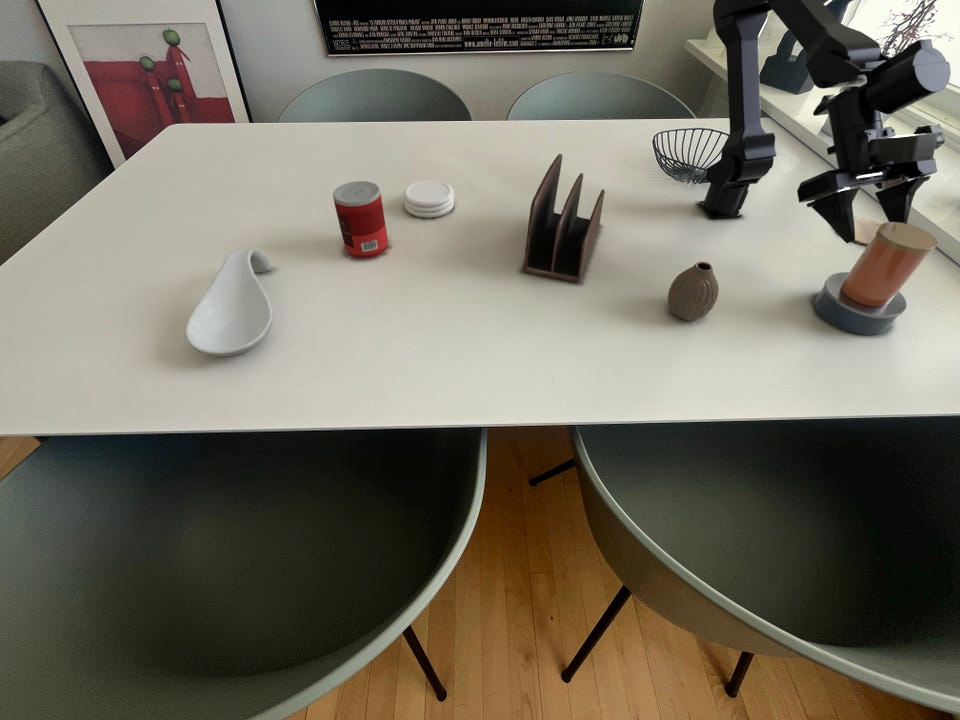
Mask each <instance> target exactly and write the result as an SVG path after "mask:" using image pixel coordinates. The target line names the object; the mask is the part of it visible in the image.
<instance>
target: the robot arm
mask: <svg viewBox="0 0 960 720" xmlns="http://www.w3.org/2000/svg"><path fill="white" fill-rule="evenodd" d="M771 11H773V13H774V14H775V15H776V16H777V17H778V18H779V20H780V21H781V22H782V24H783V25H784V26H785V27H786V28H787V31H789V32H790V34H791V35H792V36H793V37H794V38H795V40H796V41H797V43H798V44H799V45H800V46H801V47H802V49H803V50H804V53H805V63H804V65H805V69H806V71H807V73H808V75H809V77H810V79H811V82H812V84H813V85H814V86H815V87H816V88H818V89H834V88H842V87H846V88H844V89H843V90H842V91H840V92H838V93H836V94H835V93H833V94H825V95H823V96H822V97H821V100H820V102H819V103H818V104H817V106H816V107H815V109H814V110H813V113H812V115H813V116H814V117H817V116H825V115H828V121H829V127H830V131H831V132H830V133H831V137H832V143H833V145H831V146H829V147H827V148H826V152H827V156H831V155H835V160H836V165H837V168H835V169H830V170H829V169H828V170H827V171H824V172H822V173H820V174H817V175H815V176H813V177H810V178H808V179H806V180H802V181H801V182H800V184H799V186H798V187H797V190H796V193H797V197H798V198H797V199H798V203H799V204H801V203H806V207H807V208H812V209H813V210H814V211H815V212H816V213H817V214H818V215H819V216H820V217H821V218H822V219H823V220H824V221H825V222H826V223H827V224H828V225H829V226H830V227H831V228H832V229H833V230H834V232H835V233H836V234H837V235H838V236H839V237H840V238H841V239H842V241H844V243H846V244H849V243H855V242H854V241H855V226H854V218H855V217H854V209H853V207H854V206H853V202H854V200H855V198H856V196H857V194H858V192H859V191H860V187H862V186H870V185H874V186H875V187H876V188H877V189H878V190H879V191H875V192H874V195H875V197H876V199H877V201H878V203H879V205H880V206H881V209H882V210H883V213H884V214H885V217H886V219H887V221H888V222H899V223H905V224H908V220H909V216H910V212H911V209H912V204H913V200H914V197H915V195H916V192H917V191H918V190H919V189H920V187H921V186H923V184H924V183H925V182H927V181H929V180H931V175H933V174H937V172H938V168H937V162H936V161H937V160H936V158H934V155H935V150H938V149H939V148H940V147H941V146H942V145H943V144H944V143H946V139H945V137H944V133H943V130H942V127H941V124H940V123H933V124H926V125H919V126H917V128H916V129H915V130H914V132H913V133H909V134H903V135H896V130H895V128H893V126H887V127H884V123H883V117H882V114H884V115H893V114H895V113H898V112H901V111H902V110H904V109H906V108H908V107H910V106H912V105H914V104H917V103H918V102H921V101H922V100H925V99H927V98H929V97H930V96H932V95H935V94H936V93H939V92H941V91H943V90H944V89H945V88H946V87H947V85H948V84H949V82H950V80H951V75H952V74H951V73H952V72H951V71H952V70H951V64H950V62H949V61H947V60H946V57H945V56H944V54H943V53H942V52H941V51H940V50H938V49H937V48H935V47H934V46H933V41H932V39H931V38H927V39H917V40H915V41H914V42H912V43H911V44H909V45H907V47H906V48H904V49H903V50H902V51H901V52H899V53H897V54H895V55H893V56H892V57H890V56H888V55H887V54H885V53H883V52H882V48H881V46H880V43H878V42H877V41H876V40H875V39H873V38H872V37H870V36H869V35H867V34H866V33H864V32H862V31H860V30H857V29H855V28H851V27H849V26H846V25H844V24H843V23H841V21H839V20H838V19H837V17H836V16H835V15H834V14H833V13H832V12H831V10H829V8H828V7H827V5H825V4H824V2H823V1H822V0H714V3H713V7H712V18H713V24H714V30H715V34H716V36H717V37H718V38H719V40H720V41H721V42H722V44H723V45H724V47H725V51H726V52H725V53H726V73H727V75H726V76H727V95H728V117H729V134H728V136H727V138H726V140H725V142H724V145H723V147H722V148H721V155H720V156H721V157H720V160H718V161H717V162H715V163H713V164H712V165H710V166H708V167H706V174H705V180H706V181H707V182H709V186H708V189H707V191H706V192H707V193H706V195H705V198H704V200H700V201H699V202H698V205H699V206H700V207H701V209H703V211H704V212H705V213H706V214H707V216H708V217H710V219H712V220H714V219H716V220H717V219H732V218H742V216H743V213H742V212H741V210H742V207H743V205H744V203H745V201H746V199H747V196H748V194H749V188H750V185H756V184H758V183H759V182H760V181H761V180H762V178H763V177H765V176H766V175H767V174H768V173H769V172H770V170H771V169H772V168H773V164H774V160H775V159H774V158H775V157H777V152H776V147H775V145H776V135H775V132H766V130H765V129H764V128H763V127H762V121H761V120H762V119H761V115H762V114H761V88H760V87H761V85H760V84H761V83H760V58H759V57H760V55H759V37H760V35H761V33H762V31H763V29H764V26H765V25H766V23H767V20H768V15H769V12H771ZM865 82H866V83H865ZM862 83H864V84H862ZM861 84H862V85H861ZM857 85H860V86H857ZM807 202H808V203H807Z"/></svg>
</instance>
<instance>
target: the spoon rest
mask: <svg viewBox="0 0 960 720" xmlns="http://www.w3.org/2000/svg"><path fill="white" fill-rule="evenodd" d="M272 269H273V266H272V263H271V262H270V260H269V259H268V257H267V256H266V255H265V254H264V253H263V252H262V251H261V250H259V249H257V248H250V249H245V250H244V249H233V250H232V251H230V252H229V253H228V254H227V255H226V257H225V259H224V260H223V263H222V265H221V266H220V269H219V270H218V272H217V274H216V275H215V277H214V278H213V280H212V282H211V283H210V285H209V287H208V288H207V289H206V291H205V293H204V294H203V295H202V297H201V298H200V300H199V301H198V302H197V304H196V306H195V307H194V309H193V311H192V313H190V315H189V318H188V320H187V322H186V324H185V329H184V333H185V334H184V336H185V339H186V342H187V343H188V345H189V346H190V347H191V348H193V349H194V350H195V351H197V352H199V353H201V354H204V355H207V356H213V357H234V356H238V355H241V354H245V353H247V352H250V351H252V350H253V349H255V348H256V347H258V346H259V345H260V344H262V343H263V341H264V340H265V339H266V338H267V336H268V334H269V332H270V331H271V328H272V324H273V319H274V317H273V316H274V315H273V309H272V305H271V302H270V299H269V298H268V296H267V294H266V292H265V290H264V288H263V287H262V285H261V284H260V283H261V282H260V281H259V279H258V278H257V275H256V274H257V273H265V272H270V271H272Z"/></svg>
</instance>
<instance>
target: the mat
mask: <svg viewBox="0 0 960 720" xmlns="http://www.w3.org/2000/svg"><path fill="white" fill-rule="evenodd" d="M881 224H882V223H878V222H877V221H873V220H872V219H871V220H870V219H867V218H861V217H854V226H855V241H854V242H853V243H856V244H859V245H863V246H866V247H867V246H868V244H869V243H870V241H871V240H872V238H873V237H874V235H875V232H876V230H877V229H878V227H879V226H880V225H881Z"/></svg>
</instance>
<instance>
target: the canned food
mask: <svg viewBox="0 0 960 720" xmlns="http://www.w3.org/2000/svg"><path fill="white" fill-rule="evenodd" d="M381 193H382V192H381V190H380V187H379V186H378V184H376V183H374V182H371V181H365V180H358V181H357V180H356V181H350V182H347V183H344V184H342V185H340V186H338V187H336V188H335V189H334V190H333V192H332V197H333V203H334V209H335V212H336V216H337V220H338V225H339V228H340V232H341V237H342V241H343V245H344V248H345V251H346V252H347V254H348V255H349V256H350V257H352V258H356V259H360V260H361V259H365V260H366V259H372V258H375V257H377V256H380V255H382V254H383V253H384V252H385V251H386V250H387V247H388V243H389V238H388V232H387V226H386V220H385V212H384V205H383V199H382V194H381Z"/></svg>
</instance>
